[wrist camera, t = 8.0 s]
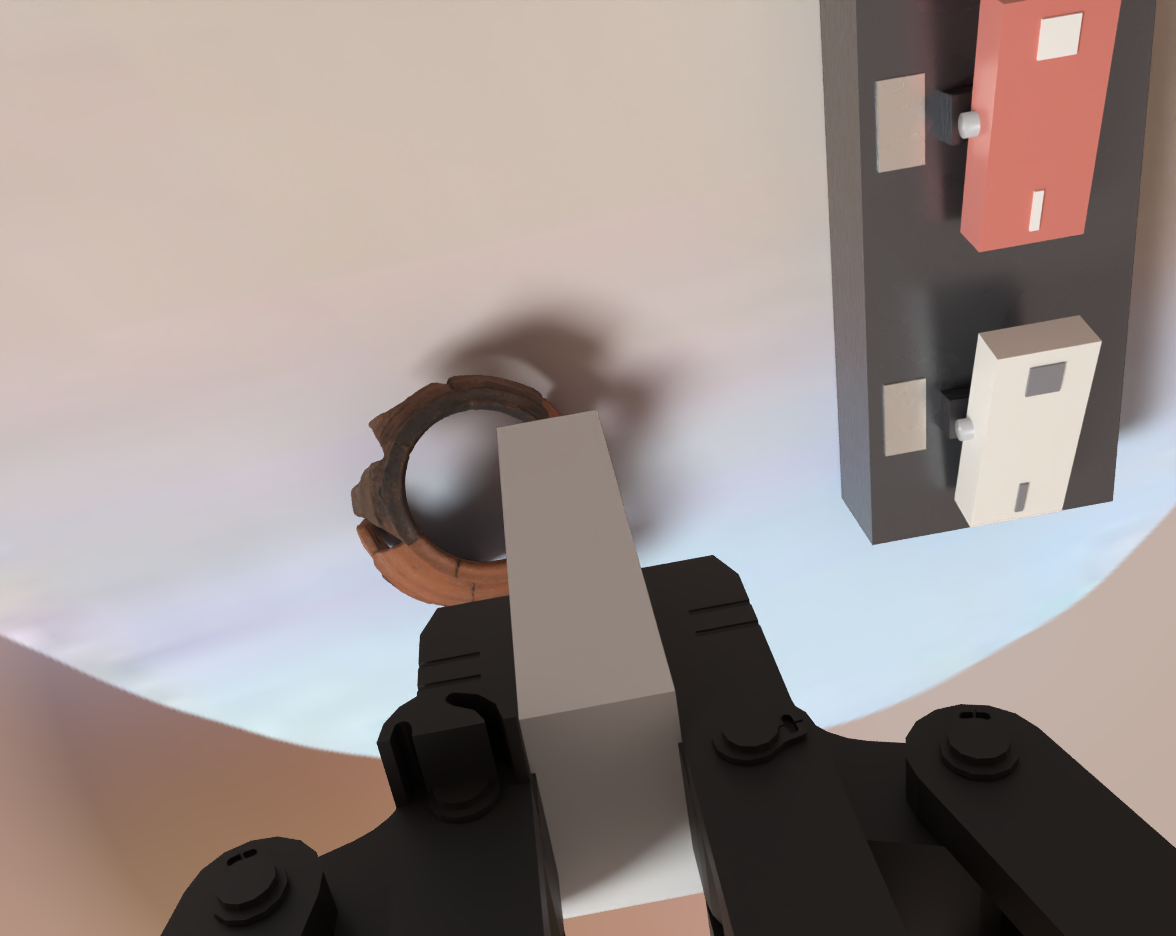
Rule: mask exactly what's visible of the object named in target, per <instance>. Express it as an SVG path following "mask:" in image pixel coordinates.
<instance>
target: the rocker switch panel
mask: <svg viewBox="0 0 1176 936" xmlns="http://www.w3.org/2000/svg"><path fill="white" fill-rule="evenodd" d="M1155 7H1156V0H1121V6H1120V12H1119V18H1118V24H1117V30H1116V36H1115V43H1114V49H1113V55H1112V61H1111V67H1110V74H1109V80H1108V86H1107V92H1106V98H1105V104H1104V111H1103V117H1102V123H1101V129H1100V135H1099V141H1098V148H1097V154H1096V160H1095V166H1094V172H1093V178H1092V185H1091V191H1090V197H1089V203H1088V209H1087V216H1086V222H1085V228H1084V234H1081V235H1075V236H1069V237H1064V238H1058V239H1052V240H1046V241H1041V242H1035V243H1029V244H1024V245H1018V246H1012V247H1007V248H1001V249H995V250H990V251H984V252H978V251H977V250H976V249H975V247H974V246H973V245H972V244H971V243H970V242H969V241H968V240H967V239H966V238H965V237H964V236H963V235H962V233H961V232H960V229H961V217H962V206H963V194H964V183H965V172H966V160H967V149H968V138H965V139H963V138H962V137H961V136H960V134H959V130H958V118H959V115H960V114H961V113H965V112H970V111H971V103H972V92H973V80H974V69H975V57H976V46H977V35H978V23H979V12H980V0H820V19H821V41H822V63H823V86H824V108H825V130H826V153H827V175H828V198H829V220H830V242H831V265H832V287H833V309H834V332H835V354H836V377H837V399H838V421H839V444H840V466H841V489H842V499H843V500H844V502H845V503H846V505H847V507H848V508H849V510H850V511H851V513H852V514H853V516H854V517H855V519H856V520H857V522H858V523H859V525H860V527H861V528H862V530H863V531H864V533H865V534H866V536H867V537H868V539H869V540H870V542H871V543H872V545H875V544H880V543H886V542H891V541H897V540H902V539H908V538H913V537H919V536H924V535H930V534H935V533H941V532H946V531H952V530H957V529H962V528H968V527H970V526H969V524H968V522H967V521H966V519H965V517H964V515H963V514H962V512H961V510H960V509H959V507H958V505H957V503H956V502H955V500H954V499H955V492H956V485H957V478H958V471H959V464H960V457H961V451H962V444H963V441H960V440H959V439H958V437H957V435H956V431H955V422H956V420H958V419H964V418H966V416H967V409H968V402H969V395H970V389H971V382H972V375H973V368H974V361H975V354H976V347H977V340H978V334H979V333H982V332H988V331H993V330H999V329H1005V328H1010V327H1016V326H1021V325H1027V324H1033V323H1038V322H1044V321H1050V320H1055V319H1061V318H1066V317H1072V316H1078V315H1080V316H1081V317H1082V319H1083V320H1084V321H1085V322H1086V323H1087V324H1088V326H1089V327H1090V328H1091V329H1092V330H1093V331H1094V333H1095V334H1096V335H1097V336H1098V337H1099V338H1100V339H1101V341H1102V343H1101V347H1100V351H1099V355H1098V360H1097V364H1096V368H1095V372H1094V377H1093V381H1092V385H1091V389H1090V393H1089V398H1088V402H1087V406H1086V410H1085V415H1084V419H1083V423H1082V427H1081V431H1080V436H1079V440H1078V444H1077V448H1076V453H1075V457H1074V461H1073V465H1072V469H1071V474H1070V478H1069V482H1068V486H1067V491H1066V495H1065V499H1064V503H1063V507H1062V510H1066V509H1072V508H1077V507H1083V506H1088V505H1094V504H1099V503H1105V502H1110V501H1113V491H1114V480H1115V468H1116V457H1117V445H1118V434H1119V422H1120V411H1121V399H1122V388H1123V376H1124V365H1125V353H1126V342H1127V330H1128V318H1129V307H1130V295H1131V284H1132V272H1133V261H1134V249H1135V238H1136V226H1137V215H1138V203H1139V192H1140V180H1141V169H1142V157H1143V145H1144V134H1145V122H1146V111H1147V99H1148V88H1149V76H1150V65H1151V53H1152V42H1153V30H1154V19H1155Z"/></svg>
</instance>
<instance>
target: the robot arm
mask: <svg viewBox="0 0 1176 936" xmlns="http://www.w3.org/2000/svg"><path fill="white" fill-rule="evenodd" d="M497 440H498V454H499V467H500V480H501V493H502V506H503V519H504V532H505V545H506V558H507V571H508V584H509V595H507V596H501V597H496V598H490V599H485V600H479V601H474V602H468V603H463V604H457V605H452V606H447V607H441V608H437V610H436V611H435V613H434V614H433V616H432V617H431V619H430V621H429V622H428V624H427V625H426V627H425V628H424V630H423V631H422V633H421V635H420V644H419V668H418V684H417V686H418V691H417V697H415V698H413V699H412V700H410V701H408V702H407V703H405V704H403V705H402V706H400V707H399V708H398V709H397V710H396V711H395V712H394V713H393V714H392V715H391V717H390V718H389V719H388V720H387V721H386V722H385V723H384V724H383V727H382V730H381V732H380V735H379V738H378V741H377V746H378V749H379V752H380V756H381V759H382V762H383V765H384V768H385V772H386V775H387V778H388V781H389V785H390V787H391V791H392V795H393V798H394V801H395V804H396V810H395V812H394V813H393V814H392V815H391V816H390V817H389V818H388V819H387V820H386V821H384V822H383V823H382V824H381V825H379V826H378V827H377V828H375V829H374V830H373V831H371V832H369V833H367V834H366V835H364V836H362V837H360V838H358V839H357V840H355V841H353V842H351V843H348V844H346V845H344V846H342V847H340V848H337V849H335V850H333V851H331V852H328V853H326V854H324V855H322V856H320V857H318V855H317V853H316V851H314V850H313V849H311V848H310V847H309V846H307V845H306V844H304V843H303V842H302V841H301V840H295V839H289V838H283V837H272V838H266V839H260V840H253V841H250V842H247V843H245V844H243V845H241V846H239V847H236V848H234V849H231V850H229V851H227V852H225V853H223V854H222V855H221V856H219V857H218V858H217V859H215V860H214V861H213V862H212V863H210V864H209V865H208V866H206V867H205V868H204V869H202V870H201V871H200V873H199V874H198V875H197V877H196V878H195V879H194V880H193V882H192V883H191V884H190V886H189V887H188V888H187V890H186V891H185V892H184V894H183V896H182V898H181V899H180V901H179V903H178V905H177V907H176V909H175V910H174V912H173V914H172V916H171V918H170V920H169V921H168V923H167V925H166V927H165V929H164V930H163V932H162V934H161V936H565V932H564V925H563V918H564V919H565V918H571V917H575V916H581V915H586V914H591V913H597V912H602V911H607V910H613V909H617V908H623V907H628V906H634V905H638V904H643V903H649V902H654V901H660V900H665V899H670V898H675V897H681V896H686V895H691V894H696V893H702V892H703V891H704V895H705V899H706V906H707V913H708V920H709V928H710V935H711V936H1176V848H1175V847H1174V846H1172V845H1171V844H1170V843H1169V842H1168V841H1167V840H1166V839H1165V838H1164V837H1162V836H1161V835H1160V834H1159V833H1158V832H1157V831H1156V830H1154V829H1153V828H1152V827H1151V826H1150V825H1149V824H1147V823H1146V822H1145V821H1144V820H1143V819H1142V818H1141V817H1139V816H1138V815H1137V814H1136V813H1135V812H1134V811H1133V810H1132V809H1130V808H1129V807H1128V806H1127V805H1126V804H1125V803H1124V802H1122V801H1121V800H1120V799H1119V798H1118V797H1117V796H1116V795H1114V794H1113V793H1112V792H1111V791H1110V790H1109V789H1108V788H1107V787H1105V786H1104V785H1103V784H1102V783H1101V782H1099V780H1097V779H1096V778H1095V777H1094V776H1093V775H1092V774H1091V773H1089V772H1088V771H1087V770H1086V769H1085V768H1083V767H1082V766H1081V765H1080V764H1079V763H1078V762H1077V761H1076V760H1075V759H1073V758H1072V757H1071V756H1070V755H1069V754H1068V753H1067V752H1065V751H1064V750H1063V749H1062V748H1061V747H1060V746H1059V745H1057V744H1056V743H1055V742H1054V741H1053V740H1052V739H1051V738H1049V737H1048V736H1047V735H1046V734H1045V733H1044V732H1043V731H1042V730H1040V729H1039V728H1038V727H1036V726H1035V725H1033V724H1032V723H1030V722H1028V721H1027V720H1025V719H1023V718H1022V717H1020V716H1019V715H1017V714H1015V713H1012V712H1008V711H1005V710H1002V709H999V708H995V707H992V706H988V705H987V706H986V705H965V704H960V705H955V706H951V707H946V708H942V709H937V710H934V711H933V712H931V713H929V714H928V715H926V716H924V717H923V718H921V719H919V720H918V721H916V723H915V724H914V726H913V727H912V729H911V731H910V732H909V733H908V735H907V737H906V743H895V742H877V741H865V740H857V739H850V738H845V737H842V736H839V735H836V734H833V733H830V732H827V731H825V730H823V729H821V728H820V727H818V726H816V725H815V724H814V722H813V721H812V720H811V718H810V717H809V716H808V714H807V713H806V712H805V711H803V710H801V709H799V708H798V707H796V706H795V705H794V703H793V702H792V700H791V698H790V695H789V693H788V691H787V688H786V686H785V683H784V681H783V679H782V676H781V674H780V672H779V669H778V667H777V664H776V662H775V660H774V657H773V655H772V653H771V650H770V648H769V646H768V643H767V641H766V638H765V636H764V634H763V631H762V629H761V627H760V625H759V624H758V619H757V617H756V615H755V612H754V610H753V608H752V605H751V604H750V602H749V598H748V596H747V593H746V591H745V589H744V586H743V584H742V581H741V579H740V577H739V574H738V573H736V572H735V571H734V570H732V569H731V568H730V567H728V566H727V565H726V564H724V563H723V562H722V561H720V560H719V559H718V558H716V557H715V556H714V555H710V556H705V557H699V558H694V559H688V560H683V561H678V562H672V563H667V564H661V565H656V566H650V567H645V568H641V567H640V563H639V559H638V556H637V552H636V549H635V545H634V541H633V538H632V534H631V531H630V527H629V523H628V520H627V516H626V513H625V509H624V505H623V502H622V498H621V495H620V491H619V487H618V484H617V480H616V477H615V473H614V469H613V466H612V462H611V459H610V455H609V451H608V448H607V444H606V441H605V437H604V433H603V430H602V426H601V423H600V419H599V415H598V412H597V410H593V411H587V412H582V413H576V414H571V415H565V416H559V417H554V418H548V419H543V420H537V421H531V422H526V423H520V424H515V425H509V426H503V427H498V428H497ZM702 887H703V889H702ZM562 913H563V915H562Z"/></svg>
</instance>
